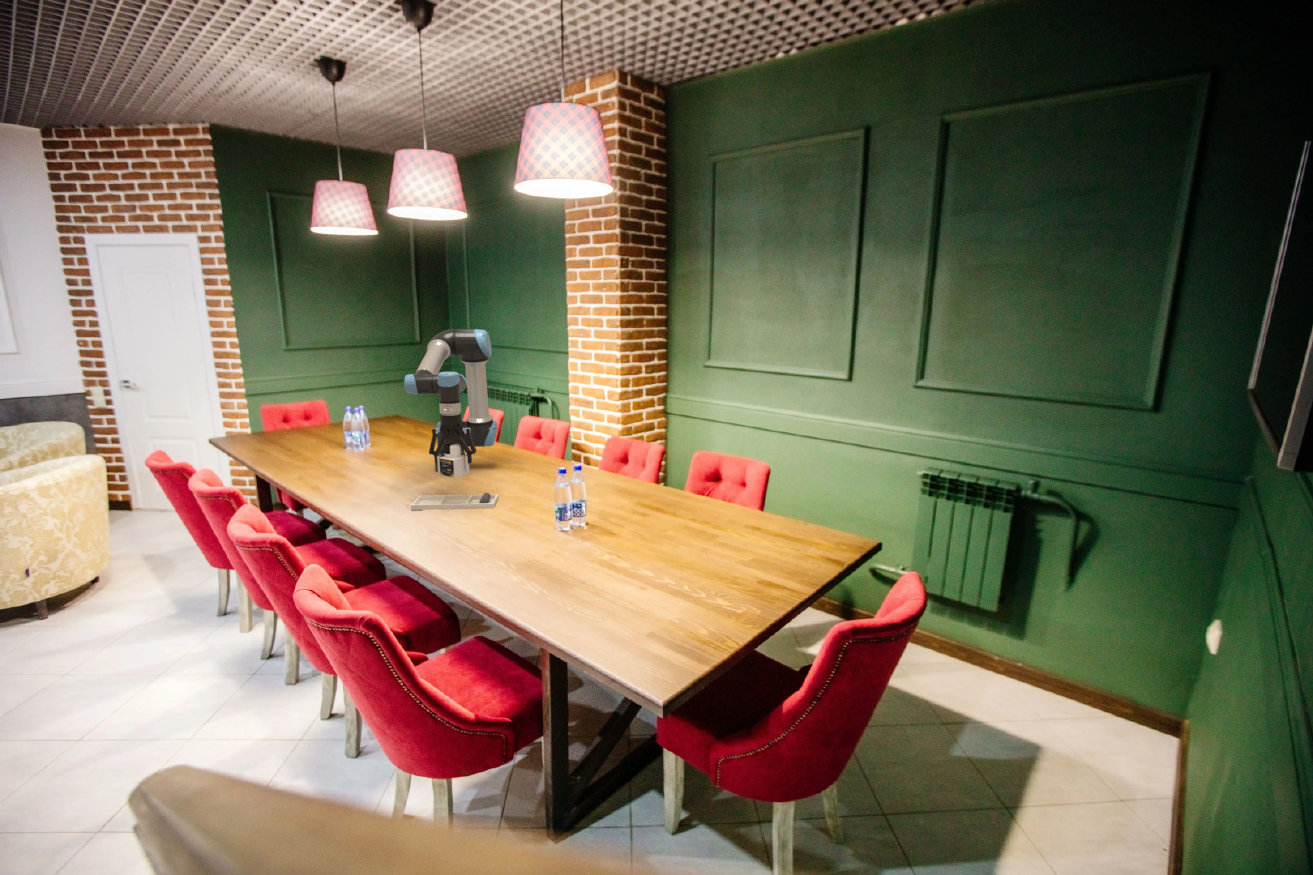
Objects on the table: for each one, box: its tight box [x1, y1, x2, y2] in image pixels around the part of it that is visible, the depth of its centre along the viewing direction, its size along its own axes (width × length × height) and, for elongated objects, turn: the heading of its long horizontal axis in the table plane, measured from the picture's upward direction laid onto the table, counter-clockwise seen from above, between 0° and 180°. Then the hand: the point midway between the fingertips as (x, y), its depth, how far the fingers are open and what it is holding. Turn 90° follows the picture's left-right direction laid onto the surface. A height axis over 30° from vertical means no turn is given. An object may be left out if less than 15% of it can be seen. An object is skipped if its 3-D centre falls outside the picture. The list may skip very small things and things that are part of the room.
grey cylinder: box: [479, 492, 492, 503], centre depth 243 cm, size 8×3×3 cm
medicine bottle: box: [439, 443, 468, 479], centre depth 239 cm, size 7×7×12 cm
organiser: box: [410, 494, 499, 512], centre depth 242 cm, size 12×30×2 cm, turn 95°
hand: (453, 471), depth 240 cm, fingers closed on medicine bottle, 10 cm apart
